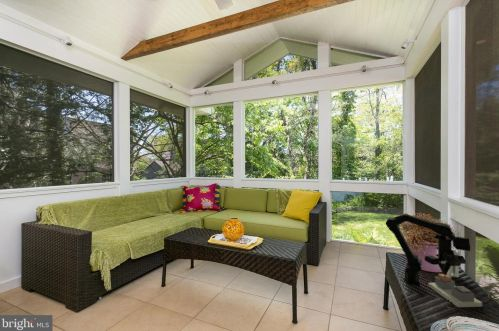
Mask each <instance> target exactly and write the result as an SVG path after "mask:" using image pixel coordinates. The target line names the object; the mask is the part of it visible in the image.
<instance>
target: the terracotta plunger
mask: <svg viewBox="0 0 499 331" xmlns="http://www.w3.org/2000/svg"><path fill="white" fill-rule="evenodd" d="M437 277H438V278H439V279H441V280H442V281H444V282H451V280H452V277H451V276H449V275H444V274H443V273H438V274H437Z"/></svg>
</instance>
